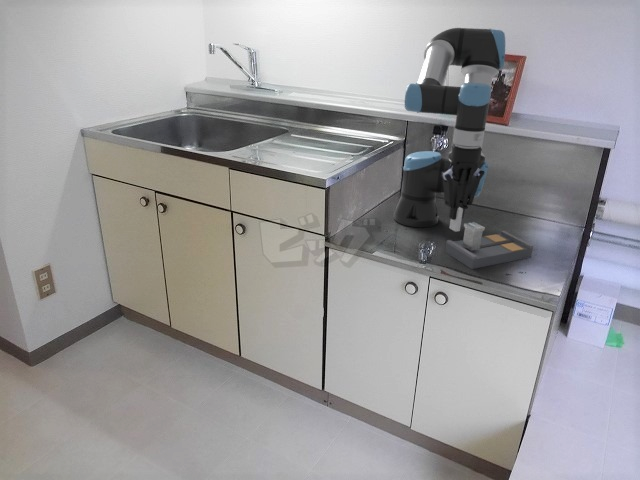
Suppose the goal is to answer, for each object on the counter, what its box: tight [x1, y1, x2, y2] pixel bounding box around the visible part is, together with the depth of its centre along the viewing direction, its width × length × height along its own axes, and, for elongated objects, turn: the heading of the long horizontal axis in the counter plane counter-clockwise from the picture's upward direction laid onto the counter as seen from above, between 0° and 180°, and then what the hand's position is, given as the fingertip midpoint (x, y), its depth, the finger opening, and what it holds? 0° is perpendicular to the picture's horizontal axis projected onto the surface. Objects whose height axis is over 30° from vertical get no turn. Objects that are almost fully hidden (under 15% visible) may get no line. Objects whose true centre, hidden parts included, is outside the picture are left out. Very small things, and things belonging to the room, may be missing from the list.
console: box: [445, 230, 534, 270], centre depth 152 cm, size 12×22×4 cm, turn 114°
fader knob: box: [462, 221, 486, 251], centre depth 147 cm, size 5×4×7 cm
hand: (454, 229), depth 143 cm, fingers closed
